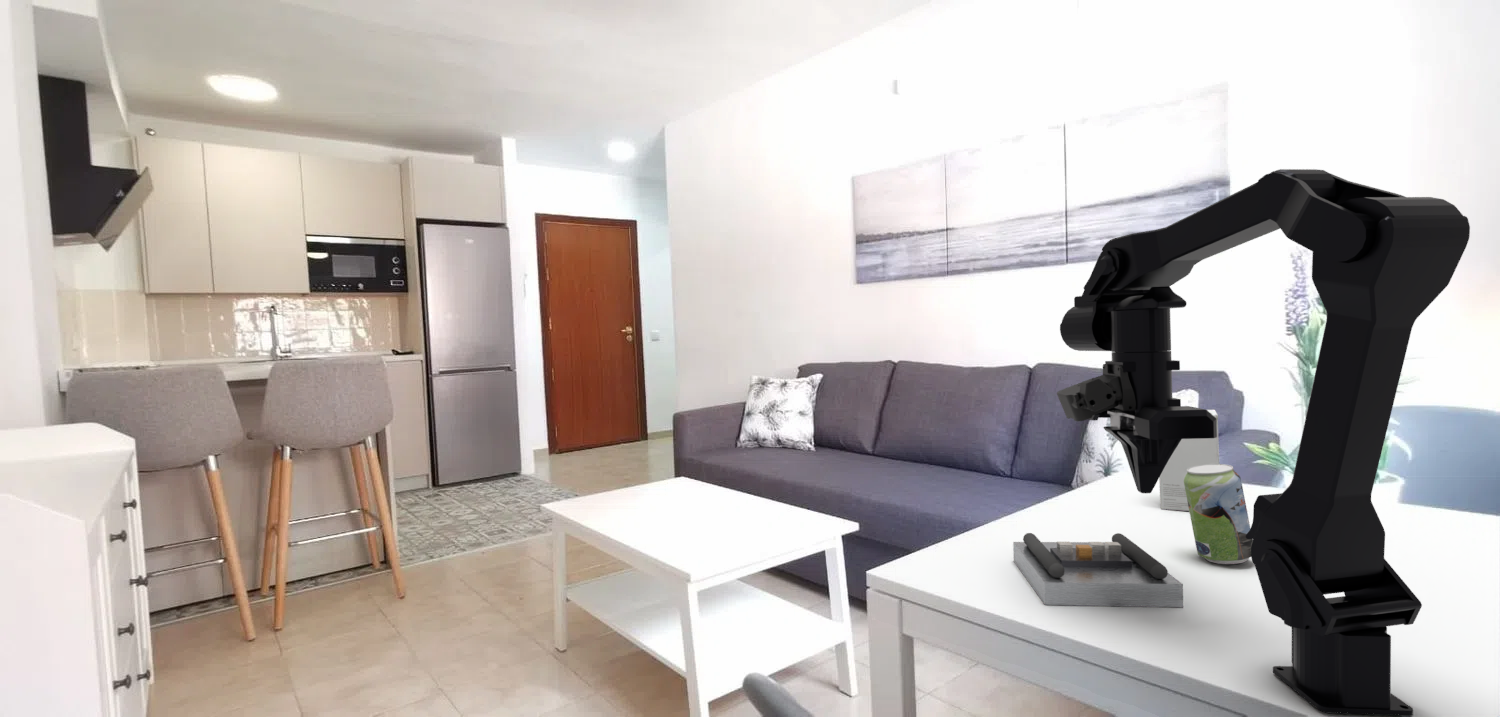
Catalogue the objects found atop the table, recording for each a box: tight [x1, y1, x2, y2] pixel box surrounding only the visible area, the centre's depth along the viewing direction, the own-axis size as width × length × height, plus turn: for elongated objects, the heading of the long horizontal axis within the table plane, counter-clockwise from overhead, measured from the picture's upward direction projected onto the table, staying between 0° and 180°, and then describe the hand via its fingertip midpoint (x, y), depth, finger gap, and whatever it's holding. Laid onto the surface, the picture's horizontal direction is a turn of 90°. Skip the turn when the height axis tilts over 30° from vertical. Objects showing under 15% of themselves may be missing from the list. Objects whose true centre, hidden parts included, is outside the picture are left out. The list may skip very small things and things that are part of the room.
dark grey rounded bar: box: [1022, 532, 1065, 578], centre depth 81 cm, size 13×2×2 cm, turn 172°
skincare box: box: [1158, 409, 1220, 512], centre depth 110 cm, size 8×7×16 cm
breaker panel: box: [1012, 541, 1184, 608], centre depth 81 cm, size 14×14×4 cm
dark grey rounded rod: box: [1111, 532, 1169, 579], centre depth 80 cm, size 13×2×2 cm, turn 172°
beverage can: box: [1184, 463, 1253, 565], centre depth 86 cm, size 6×7×12 cm
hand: (1144, 492), depth 76 cm, fingers closed
